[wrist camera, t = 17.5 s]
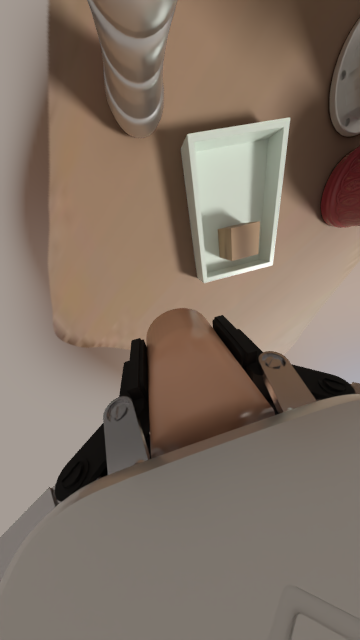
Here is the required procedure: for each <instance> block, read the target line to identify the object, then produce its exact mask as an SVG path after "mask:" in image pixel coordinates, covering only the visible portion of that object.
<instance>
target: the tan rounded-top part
mask: <svg viewBox="0 0 360 640" xmlns="http://www.w3.org/2000/svg"><path fill="white" fill-rule="evenodd" d="M146 343H147V368H148V394H149V421H150V447H151V459H152V458H155V457H158V456H160V455H163V454H166V453H169V452H172V451H174V450H177V449H180V448H183V447H186V446H188V445H191V444H194V443H197V442H200V441H203V440H205V439H208V438H211V437H214V436H217V435H220V434H223V433H225V432H228V431H231V430H234V429H237V428H240V427H243V426H245V425H248V424H251V423H254V422H257V421H260V420H263V419H266V418H269V417H272V416H274V415H275V412H274V410H273V408H272V407H271V406H270V404H269V403H268V402H267V400H266V399H265V397H264V396H263V395H262V393H261V392H260V391H259V389H258V388H257V387H256V385H255V384H254V383H253V381H252V380H251V379H250V377H249V376H248V375H247V373H246V372H245V371H244V369H243V368H242V367H241V365H240V364H239V363H238V361H237V360H236V359H235V357H234V356H233V355H232V353H231V352H230V351H229V349H228V348H227V347H226V345H225V344H224V342H223V341H222V340H221V338H220V337H219V336H218V334H217V333H216V332H215V330H214V329H213V328H212V326H211V325H210V324H209V322H208V321H207V320H206V318H205V317H204V316H203V315H202V314H200V313H199V312H197V311H195V310H192V309H187V308H178V309H173V310H170V311H167V312H165V313H163V314H161V315H160V316H159V317H157V318H156V319H155V320H154V321H153V323H152V324H151V325H150V327H149V329H148V332H147V337H146Z"/></svg>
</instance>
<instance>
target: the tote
mask: <svg viewBox="0 0 360 640" xmlns="http://www.w3.org/2000/svg"><path fill="white" fill-rule="evenodd" d="M289 125H290V117H289V118H283V119H277V120H270V121H264V122H258V123H252V124H246V125H239V126H233V127H227V128H221V129H215V130H209V131H202V132H196V133H190V134H187V136H186V138H185V140H184V142H183V145H182V147H181V156H182V164H183V172H184V180H185V187H186V195H187V203H188V210H189V218H190V226H191V234H192V241H193V249H194V257H195V264H196V272H197V278H198V279H199V280H200V281H202V282H203V283H206V282H210V281H214V280H217V279H221V278H225V277H229V276H233V275H237V274H241V273H244V272H248V271H252V270H256V269H260V268H264V267H268V266H271V265H273V258H274V250H275V242H276V234H277V225H278V217H279V209H280V200H281V192H282V184H283V175H284V167H285V159H286V150H287V142H288V134H289ZM257 221H260V233H259V251H258V254H257V255H253V256H249V257H246V258H242V259H238V260H234V261H230V260H226V259H223V258H220V257H219V242H218V229H221V228H225V227H229V226H233V225H237V224H241V223H248V222H257Z"/></svg>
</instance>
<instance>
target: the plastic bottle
mask: <svg viewBox="0 0 360 640" xmlns="http://www.w3.org/2000/svg"><path fill="white" fill-rule="evenodd" d="M87 1H88V3H89V6H90V9H91V12H92V15H93V19H94V23H95V26H96V30H97V34H98V37H99V41H100V45H101V50H102V57H103V64H104V84H105V93H106V97H107V101H108V104H109V107H110V109H111V111H112V113H113V115H114V117H115V119H116V121H117V123H118V124H119V125H120V127H121V128H122V129H123V130H124V131H125V132H126V133H127V134H129V135H130V136H133V137H135V138H145V137H148V136H149V135H151V134H152V133H153V132H154V130H155V129H156V127H157V125H158V123H159V121H160V119H161V116H162V113H163V106H164V87H163V61H164V54H165V49H166V43H167V38H168V33H169V29H170V26H171V22H172V18H173V15H174V11H175V7H176V4H177V0H87Z"/></svg>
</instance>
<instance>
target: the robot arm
mask: <svg viewBox="0 0 360 640" xmlns="http://www.w3.org/2000/svg"><path fill="white" fill-rule="evenodd" d="M330 115H331V120H332V123H333V126H334V127H335V129H336V131H337V132H339V133H340V134H341V135H343V136H346V137H349V136H355V135H358V134H360V18H359V20H358V21H357V23H356V24H355V25H354V27H353V28H352V30H351V32H350V34H349V36H348V37H347V39H346V41H345V43H344V45H343V48H342V50H341V53H340V55H339V57H338V61H337V64H336V67H335V70H334V74H333V78H332V83H331V90H330ZM213 329H214V330H215V332H216V333H217V334H218V336H219V337H220V338H221V340H222V341H223V342H224V344H225V345H226V347H227V348H228V349H229V351H230V352H231V353H232V355H233V356H234V357H235V359H236V360H237V361H238V363H239V364H240V365H241V367H242V368H243V369H244V371H245V372H246V373H247V375H248V376H249V377H250V379H251V380H252V381H253V383H254V384H255V385H256V387H257V388H258V389H259V391H260V392H261V393H262V395H263V396H264V397H265V399H266V400H267V402H268V403H269V404H270V406H271V407H272V408H273V410H274V412H275V415H274V416H272V417H269V418H266V419H263V420H260V421H257V422H254V423H251V424H248V425H245V426H243V427H240V428H237V429H234V430H231V431H228V432H225V433H223V434H220V435H217V436H214V437H211V438H208V439H205V440H203V441H200V442H197V443H194V444H191V445H188V446H186V447H183V448H180V449H177V450H174V451H172V452H169V453H166V454H163V455H160V456H158V457H155V458H152V459H151V447H150V421H149V394H148V368H147V347H146V344H145V342H144V340H141V339H140V338H139V339H135V340H132V342H131V352H130V361H127V362H125V363H124V367H123V374H122V381H121V388H120V395H119V397H118V398H116V399H115V400H113V401H112V402H111V403H110V404H109V405H108V406H107V408H106V409H105V412H104V416H103V420H104V423H103V424H102V425H101V426H100V427H99V429H98V430H97V431H96V432H95V433H94V434H93V435H92V436H91V437H90V439H89V440H88V441H87V442H86V443H85V444H84V445H83V446H82V448H81V449H80V450H79V451H78V452H77V453H76V454H75V456H74V457H73V458H72V459H71V460H70V461H69V462H68V463H67V465H66V466H65V467H64V469H63V470H62V472H61V473H60V475H59V477H58V480H57V483H56V484H55V486H54V487H53V488H50V487H49V488H48V489H47V490H46V491H45V492H44V493H43V494H42V495H41V496H40V497H39V498H38V499H37V500H36V501H35V502H34V503H33V504H32V505H31V506H30V508H28V510H27V511H26V512H25V513H24V514H23V515H22V516H21V517H20V518H19V519H18V520H17V521H16V522H15V523H14V524H13V525H12V526H11V527H10V528H9V529H8V530H7V531H6V532H5V533H4V534H3V535H2V536H1V537H0V640H360V384H359V383H354V382H353V383H352V384H349V383H348V382H346V381H345V380H343V379H342V378H340V377H337V376H335V375H331V374H327V373H324V372H319V371H315V370H312V369H307V368H304V367H300V366H295V365H291V363H290V362H289V361H288V359H287V358H286V357H285V356H283V355H282V354H280V353H277V352H273V351H267V352H262V351H261V350H260V349H259V348H258V347H257V346H256V345H255V344H254V343H253V342H252V341H251V340H250V339H249V338H248V337H247V336H246V335H245V334H244V333H243V332H242V331H241V330H240V329H236V328H235V327H234V326H233V325H232V324H231V323H230V322H229V321H228V320H227V319H226V318H225V317H224V316H223V315H221V316H218V317H215V319H214V320H213Z"/></svg>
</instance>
